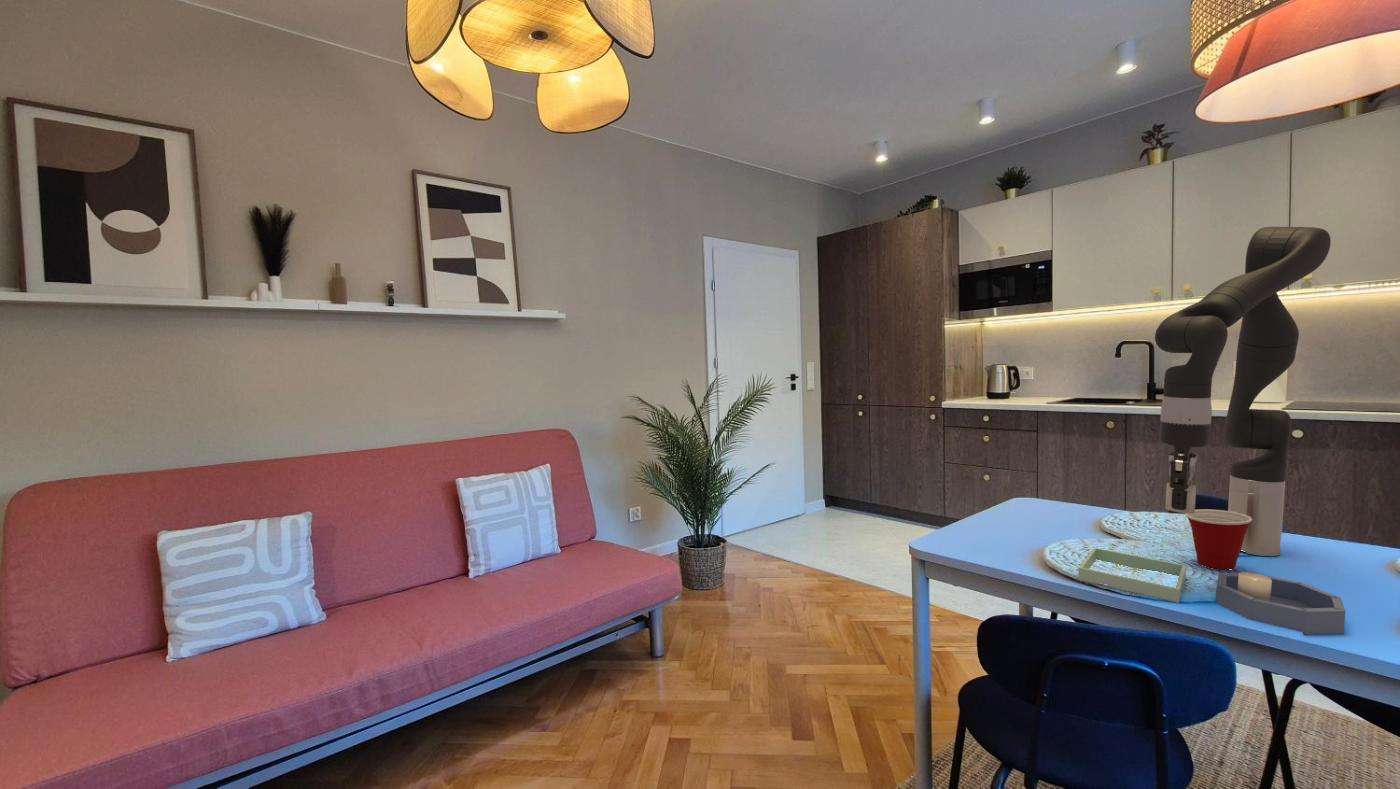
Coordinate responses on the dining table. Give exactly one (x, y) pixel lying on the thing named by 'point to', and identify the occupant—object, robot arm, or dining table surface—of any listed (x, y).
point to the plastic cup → (1218, 536)
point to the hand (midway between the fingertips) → (1180, 505)
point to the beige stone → (1255, 585)
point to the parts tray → (1134, 563)
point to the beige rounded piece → (1190, 499)
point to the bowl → (1285, 605)
